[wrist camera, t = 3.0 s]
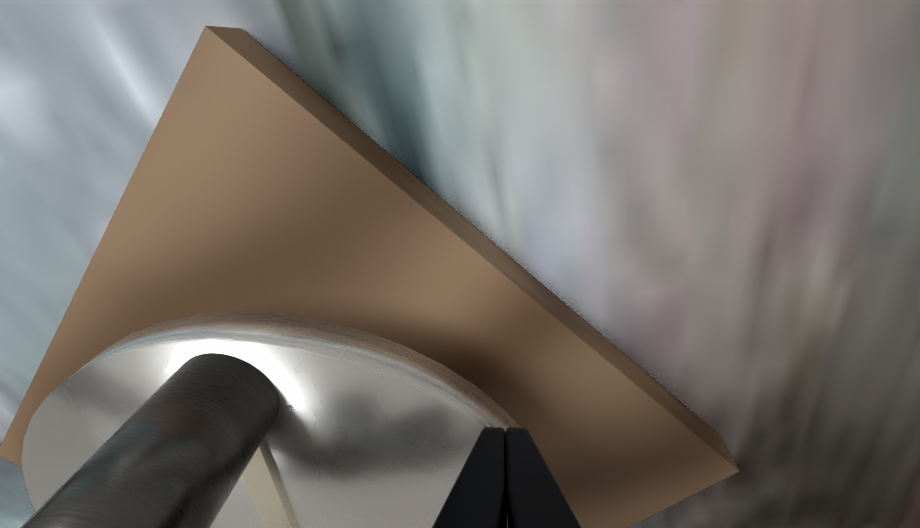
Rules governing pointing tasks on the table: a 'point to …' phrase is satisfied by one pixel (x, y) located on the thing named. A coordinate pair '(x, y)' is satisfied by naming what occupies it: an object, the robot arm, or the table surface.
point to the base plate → (364, 280)
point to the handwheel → (252, 430)
